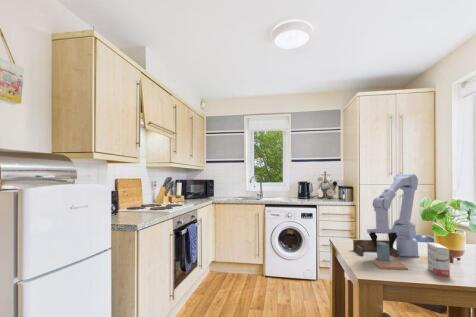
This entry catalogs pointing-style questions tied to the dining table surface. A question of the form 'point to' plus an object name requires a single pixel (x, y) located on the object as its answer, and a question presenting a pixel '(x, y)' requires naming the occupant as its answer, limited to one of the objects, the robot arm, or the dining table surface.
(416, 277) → the dining table surface
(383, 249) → the block
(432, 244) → the ink box
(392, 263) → the tile
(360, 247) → the wooden u-shaped rack
